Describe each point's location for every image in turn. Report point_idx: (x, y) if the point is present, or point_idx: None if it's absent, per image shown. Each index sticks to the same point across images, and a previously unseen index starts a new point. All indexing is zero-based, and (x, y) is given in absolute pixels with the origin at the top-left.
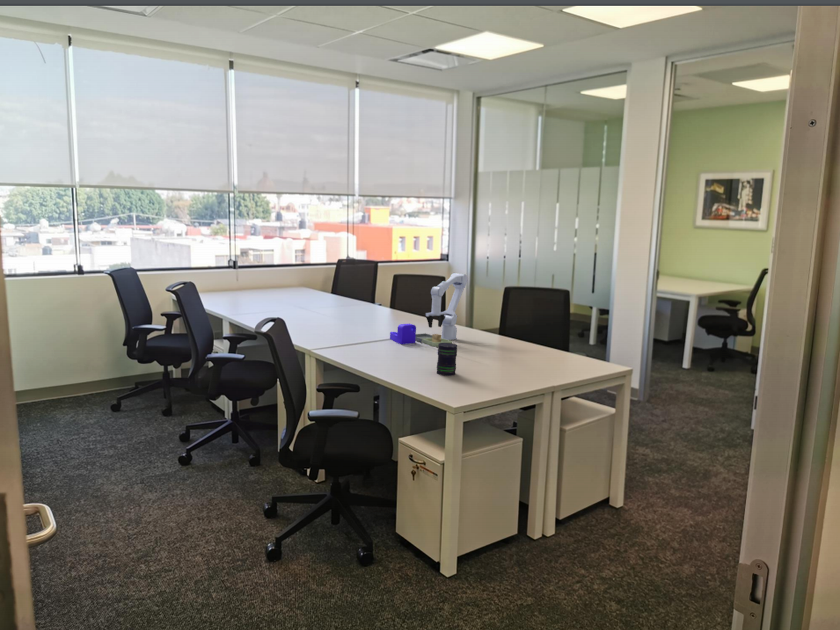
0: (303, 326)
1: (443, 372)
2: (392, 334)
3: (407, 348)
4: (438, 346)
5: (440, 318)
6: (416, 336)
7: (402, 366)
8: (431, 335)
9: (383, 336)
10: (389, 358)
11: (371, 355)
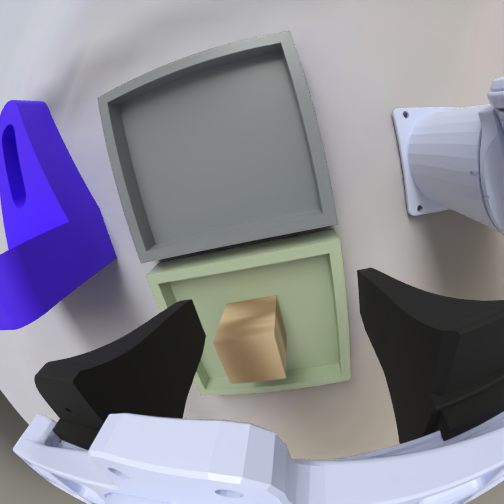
0: None
1: None
2: (2, 165)
3: (74, 355)
4: None
5: (404, 394)
6: (177, 78)
7: None
8: (306, 134)
9: (26, 64)
10: (48, 411)
11: (11, 373)
